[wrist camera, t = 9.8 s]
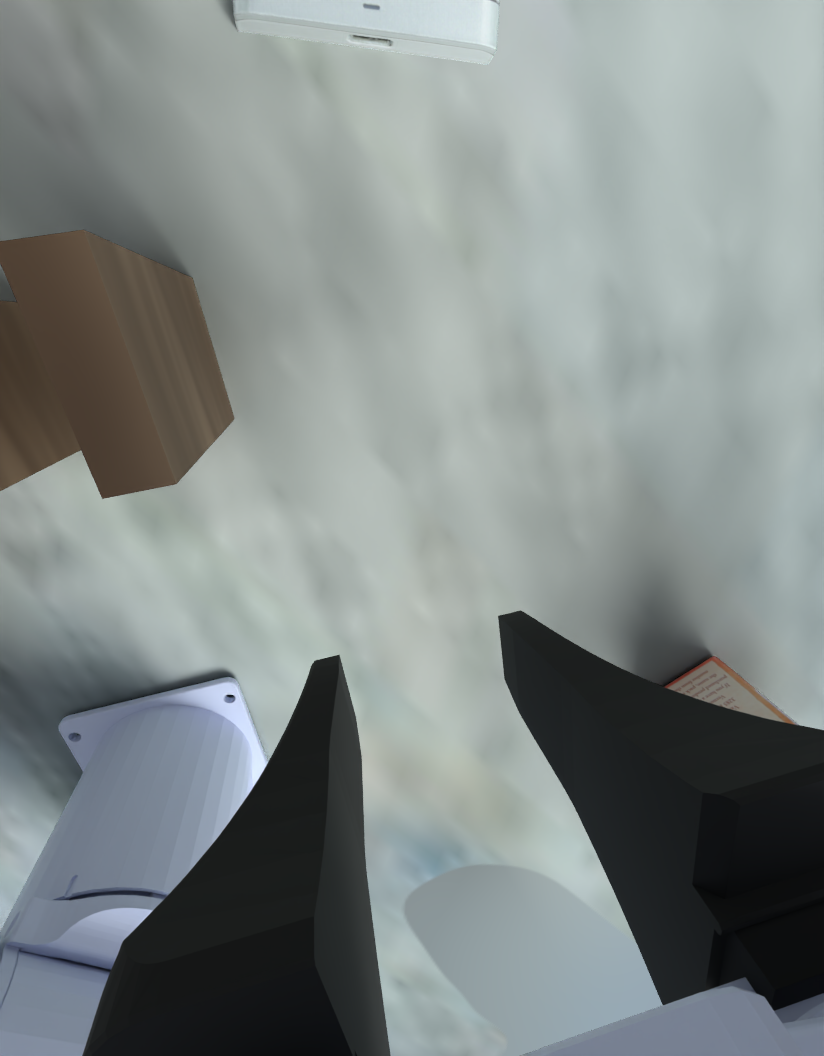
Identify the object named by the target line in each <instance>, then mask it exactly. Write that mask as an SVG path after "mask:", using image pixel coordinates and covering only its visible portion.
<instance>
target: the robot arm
mask: <svg viewBox="0 0 824 1056" xmlns="http://www.w3.org/2000/svg"><path fill="white" fill-rule="evenodd" d="M498 618H499V628H500V638H501V648H502V658H503V668H504V678H505V681H506V683H507V686H508V688H509V690H510V693H511V695H512V697H513V700H514V702H515V704H516V706H517V708H518V711H519V713H520V715H521V716H522V718H523V720H524V722H525V723H526V725H527V727H528V728H529V730H530V732H531V734H532V735H533V737H534V739H535V740H536V742H537V744H538V745H539V747H540V749H541V750H542V752H543V754H544V755H545V757H546V759H547V760H548V762H549V764H550V765H551V767H552V769H553V770H554V772H555V774H556V775H557V777H558V779H559V780H560V782H561V784H562V785H563V787H564V789H565V790H566V792H567V794H568V796H569V798H570V800H571V801H572V803H573V805H574V807H575V809H576V811H577V813H578V815H579V817H580V819H581V821H582V824H583V826H584V828H585V830H586V832H587V834H588V836H589V838H590V840H591V842H592V845H593V847H594V849H595V851H596V853H597V855H598V858H599V860H600V862H601V864H602V866H603V868H604V871H605V873H606V875H607V877H608V879H609V882H610V884H611V886H612V888H613V890H614V892H615V895H616V897H617V899H618V902H619V904H620V906H621V908H622V911H623V913H624V915H625V917H626V920H627V922H628V924H629V927H630V929H631V931H632V933H633V936H634V938H635V940H636V943H637V945H638V947H639V949H640V952H641V954H642V957H643V959H644V961H645V964H646V966H647V969H648V971H649V973H650V976H651V978H652V980H653V983H654V985H655V988H656V990H657V992H658V995H659V997H660V999H661V1002H662V1004H663V1006H660V1007H657V1008H654V1009H651V1010H649V1011H646V1012H643V1013H640V1014H637V1015H634V1016H632V1017H629V1018H626V1019H623V1020H620V1021H617V1022H614V1023H611V1024H608V1025H606V1026H603V1027H600V1028H597V1029H594V1030H591V1031H588V1032H586V1033H583V1034H580V1035H577V1036H574V1037H571V1038H569V1039H566V1040H563V1041H560V1042H557V1043H554V1044H551V1045H548V1046H546V1047H543V1048H540V1049H538V1050H535V1051H532V1052H529V1053H527V1054H524V1055H521V1056H824V730H819V729H815V728H810V727H805V726H800V725H795V724H790V723H785V722H780V721H775V720H771V719H767V718H762V717H759V716H755V715H751V714H747V713H743V712H740V711H736V710H732V709H728V708H725V707H722V706H718V705H715V704H712V703H708V702H705V701H702V700H699V699H696V698H693V697H691V696H688V695H685V694H682V693H679V692H676V691H673V690H671V689H668V688H665V687H663V686H660V685H658V684H655V683H653V682H651V681H648V680H646V679H643V678H641V677H639V676H636V675H634V674H632V673H630V672H627V671H625V670H623V669H621V668H619V667H617V666H615V665H613V664H611V663H609V662H607V661H605V660H603V659H601V658H599V657H597V656H595V655H594V654H592V653H590V652H588V651H586V650H585V649H583V648H581V647H579V646H578V645H576V644H574V643H572V642H571V641H569V640H567V639H566V638H564V637H562V636H561V635H559V634H557V633H556V632H554V631H553V630H551V629H549V628H548V627H546V626H545V625H543V624H542V623H540V622H538V621H537V620H535V619H534V618H532V617H531V616H529V615H527V614H526V613H524V612H522V611H517V612H513V613H509V614H505V615H500V616H498ZM228 694H232V695H234V696H235V697H232V698H229V697H227V696H226V695H228ZM58 729H59V732H60V734H61V735H62V737H63V739H64V740H65V742H66V744H67V745H68V747H69V749H70V751H71V752H72V754H73V756H74V757H75V759H76V761H77V762H78V764H79V766H80V767H81V769H82V771H83V774H82V776H81V778H80V780H79V782H78V784H77V785H76V787H75V789H74V791H73V793H72V795H71V797H70V799H69V801H68V803H67V805H66V807H65V808H64V810H63V812H62V814H61V816H60V818H59V820H58V822H57V824H56V826H55V828H54V830H53V832H52V833H51V835H50V837H49V839H48V841H47V843H46V845H45V847H44V849H43V851H42V853H41V855H40V856H39V858H38V860H37V862H36V864H35V866H34V868H33V870H32V872H31V874H30V876H29V878H28V879H27V881H26V883H25V885H24V887H23V889H22V891H21V893H20V895H19V897H18V899H17V901H16V903H15V904H14V906H13V908H12V910H11V912H10V914H9V916H8V918H7V920H6V922H5V924H4V926H3V927H2V929H1V931H0V1056H390V1049H389V1042H388V1035H387V1027H386V1020H385V1013H384V1005H383V998H382V990H381V983H380V976H379V968H378V960H377V953H376V945H375V937H374V929H373V921H372V913H371V905H370V897H369V889H368V881H367V872H366V861H365V846H364V815H363V785H362V758H361V750H360V742H359V735H358V729H357V722H356V716H355V712H354V709H353V705H352V701H351V697H350V693H349V690H348V686H347V682H346V678H345V674H344V671H343V667H342V663H341V659H340V655H337V656H332V657H328V658H324V659H320V660H316V661H314V663H313V664H312V666H311V669H310V672H309V675H308V678H307V681H306V684H305V686H304V689H303V691H302V694H301V696H300V699H299V701H298V703H297V706H296V708H295V710H294V712H293V715H292V717H291V719H290V721H289V724H288V726H287V728H286V730H285V732H284V734H283V736H282V738H281V739H280V741H279V743H278V745H277V747H276V749H275V751H274V753H273V755H272V757H271V758H270V760H269V762H268V761H267V758H266V756H265V753H264V750H263V748H262V745H261V742H260V740H259V737H258V734H257V732H256V729H255V726H254V724H253V721H252V718H251V716H250V713H249V710H248V708H247V705H246V702H245V700H244V697H243V694H242V692H241V689H240V686H239V684H238V682H237V680H235V679H234V678H231V677H224V678H220V679H216V680H212V681H208V682H204V683H200V684H196V685H191V686H187V687H183V688H179V689H175V690H171V691H167V692H163V693H158V694H154V695H150V696H146V697H142V698H138V699H134V700H130V701H126V702H121V703H117V704H113V705H109V706H105V707H101V708H97V709H93V710H89V711H84V712H80V713H76V714H72V715H68V716H66V717H64V718H63V719H62V721H61V722H60V724H59V726H58ZM74 733H78V734H80V735H76V734H74Z"/></svg>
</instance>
